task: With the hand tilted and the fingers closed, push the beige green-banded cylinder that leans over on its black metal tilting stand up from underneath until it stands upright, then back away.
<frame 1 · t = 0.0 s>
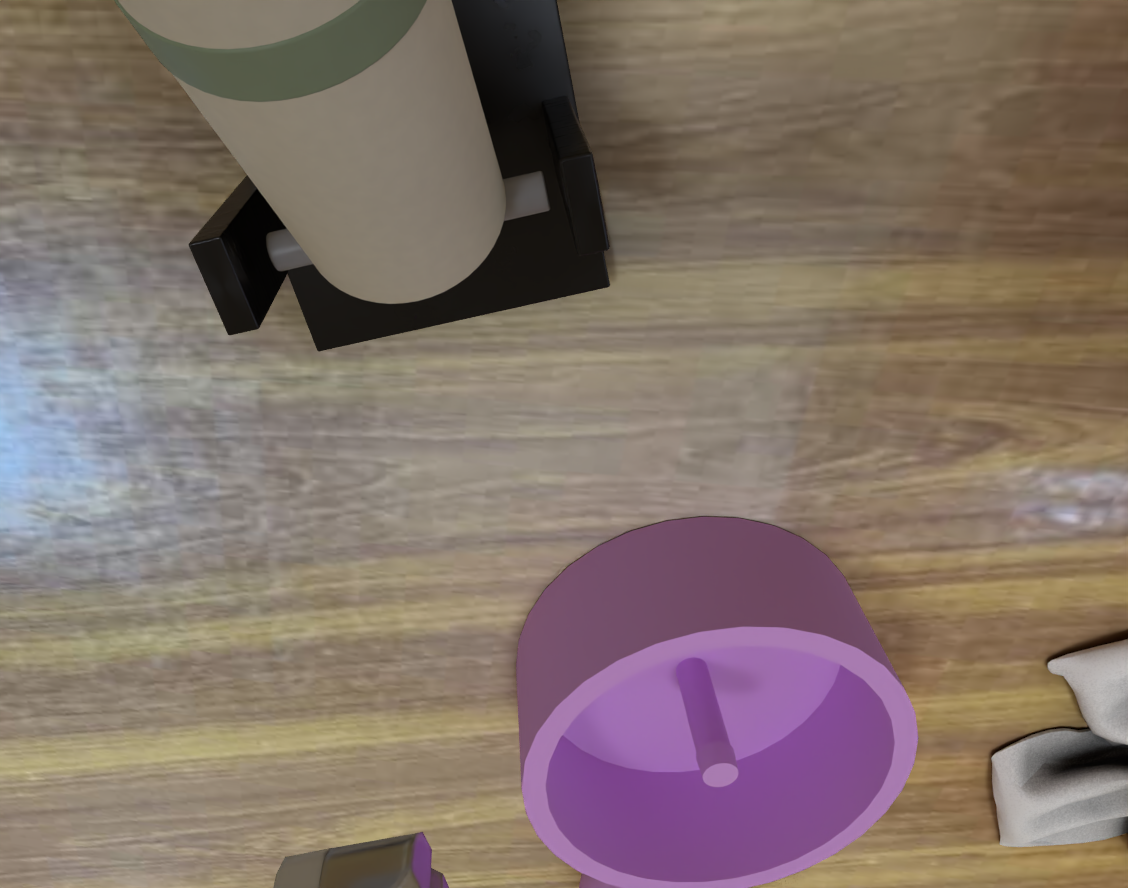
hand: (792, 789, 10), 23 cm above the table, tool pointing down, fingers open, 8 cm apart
beige green-banded cylinder: (335, 71, 18), point 10 cm above the table, hinge at 40.0°
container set: (670, 729, 43), on the table
roll stand: (422, 163, 28), on the table
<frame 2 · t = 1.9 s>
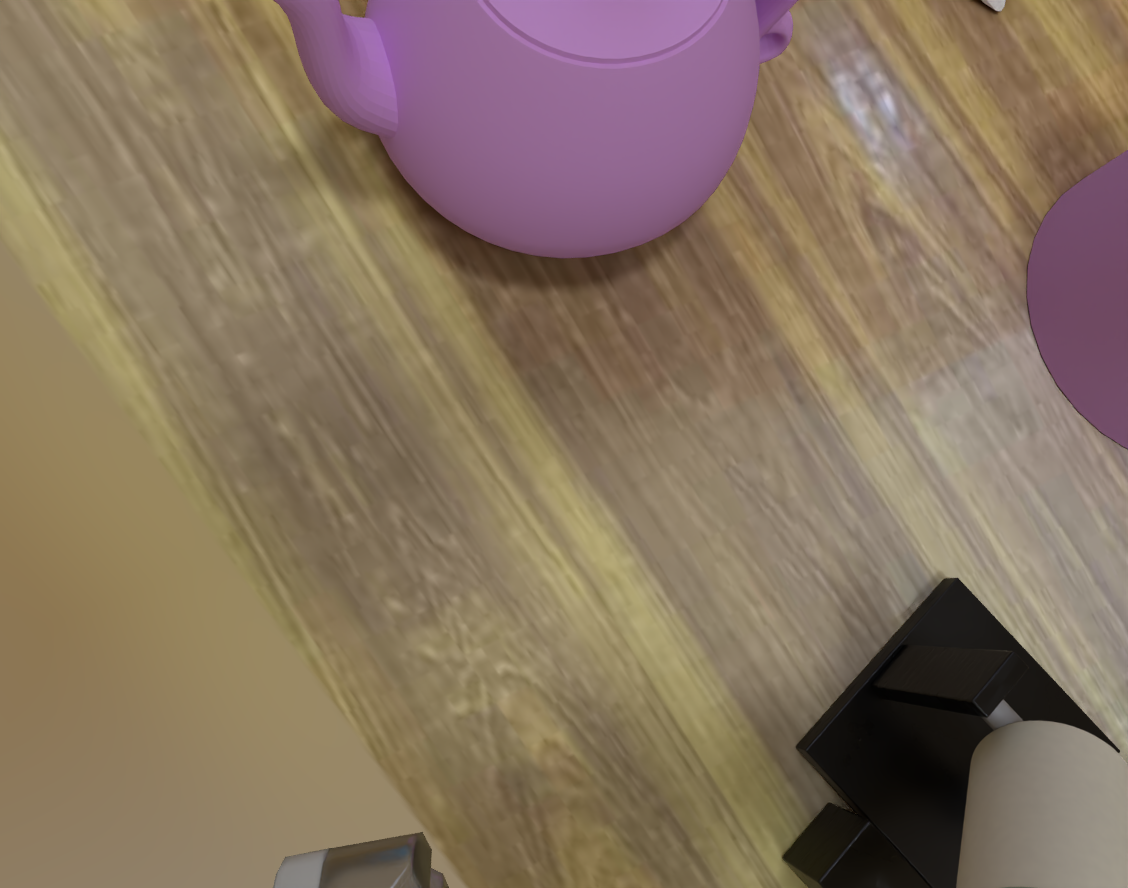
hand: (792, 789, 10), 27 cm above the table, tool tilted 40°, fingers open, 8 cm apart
roll stand: (953, 747, 38), on the table
teapot: (524, 132, 40), on the table
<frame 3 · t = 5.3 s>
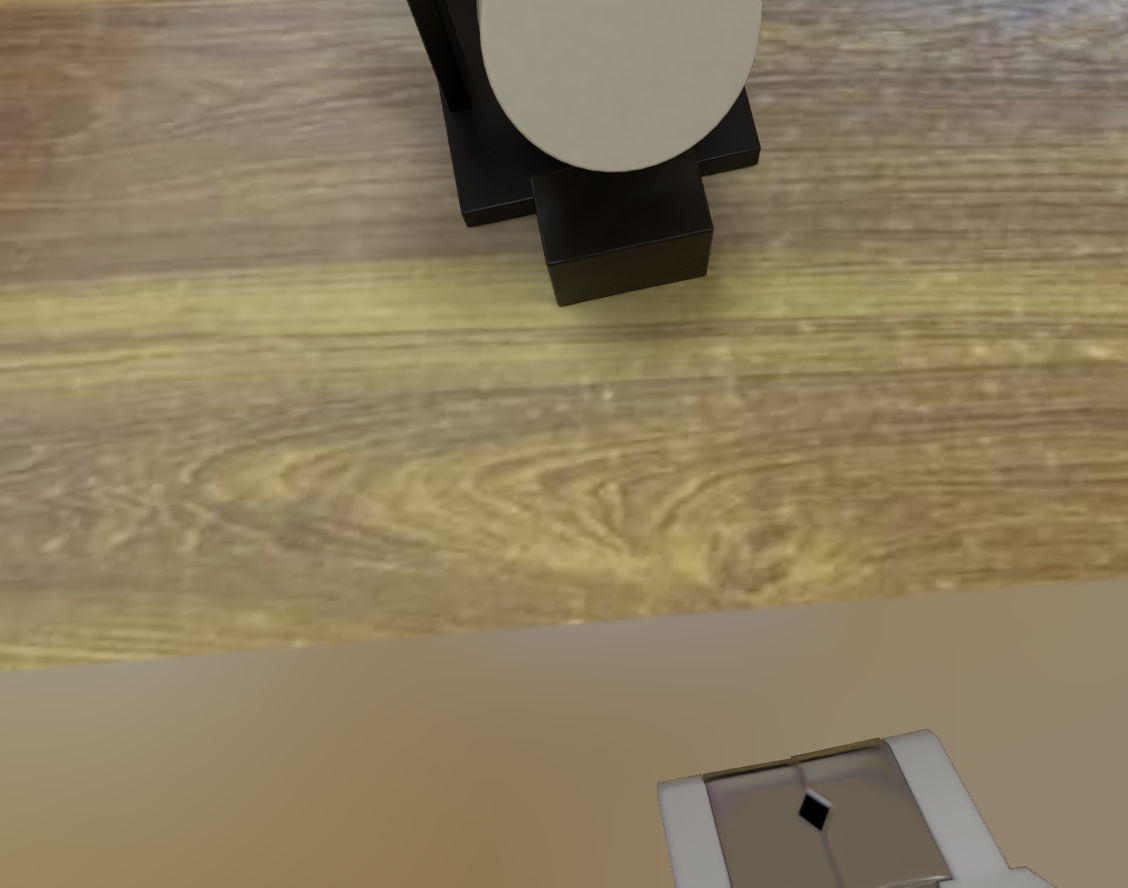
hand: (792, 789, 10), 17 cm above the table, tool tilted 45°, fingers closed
roll stand: (583, 68, 31), on the table
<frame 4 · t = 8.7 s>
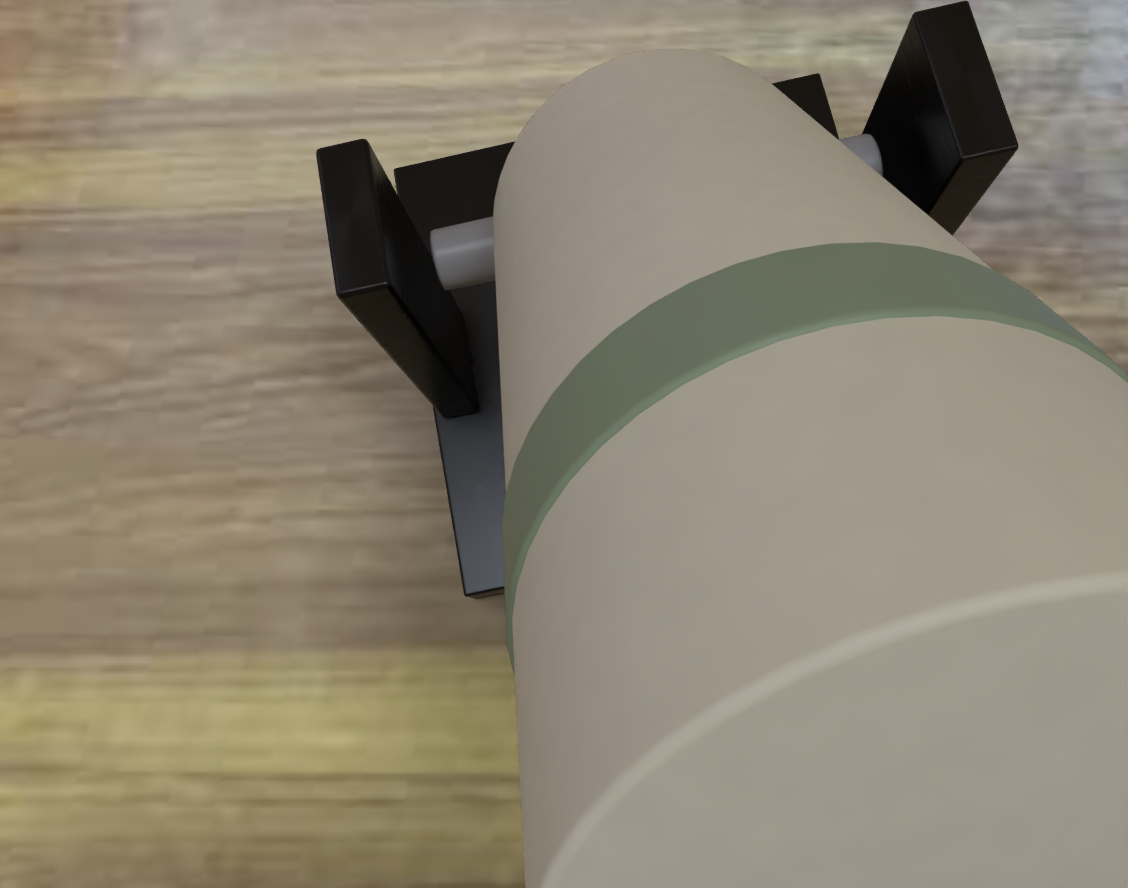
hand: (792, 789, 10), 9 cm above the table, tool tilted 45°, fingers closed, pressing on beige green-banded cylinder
beige green-banded cylinder: (733, 385, 10), point 10 cm above the table, hinge at 42.3°, touching gripper
roll stand: (650, 336, 20), on the table
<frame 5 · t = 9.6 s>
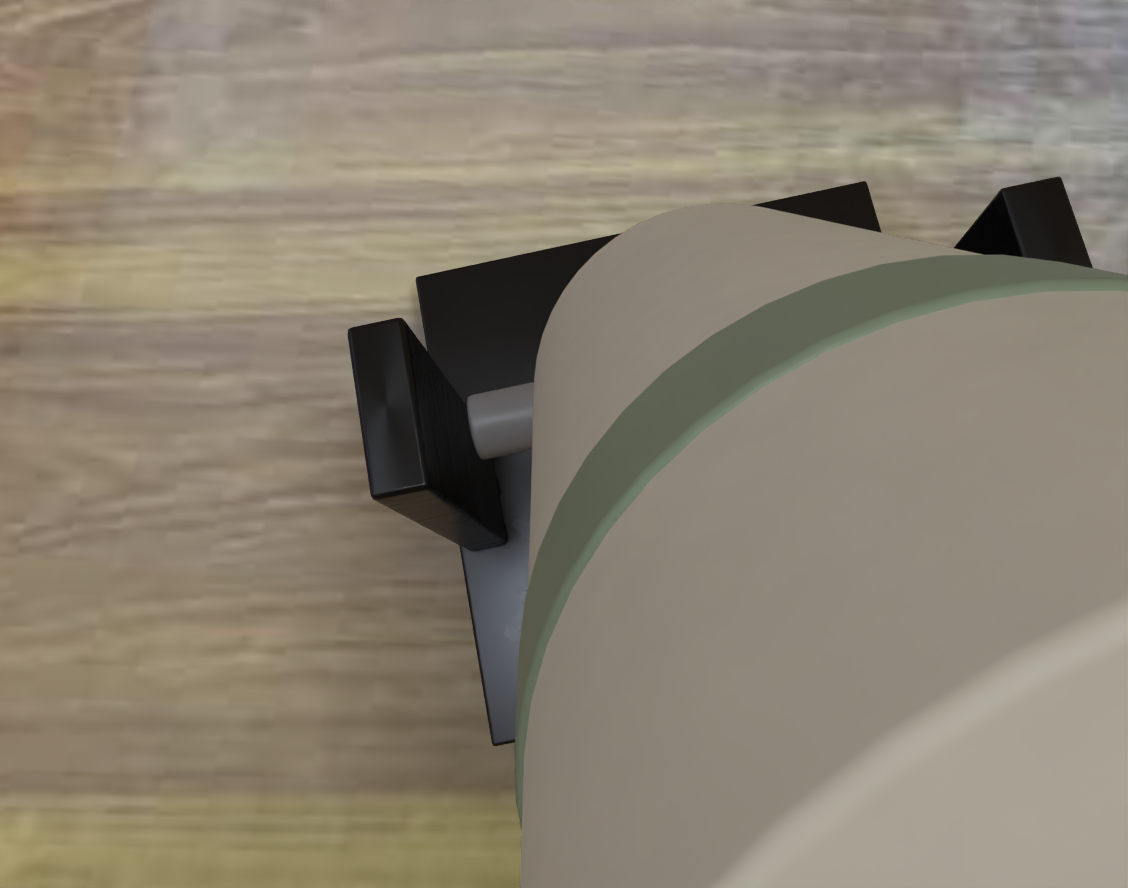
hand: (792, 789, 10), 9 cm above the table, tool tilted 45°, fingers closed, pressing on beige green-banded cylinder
beige green-banded cylinder: (812, 519, 8), point 11 cm above the table, hinge at 59.6°, touching gripper
roll stand: (686, 458, 19), on the table
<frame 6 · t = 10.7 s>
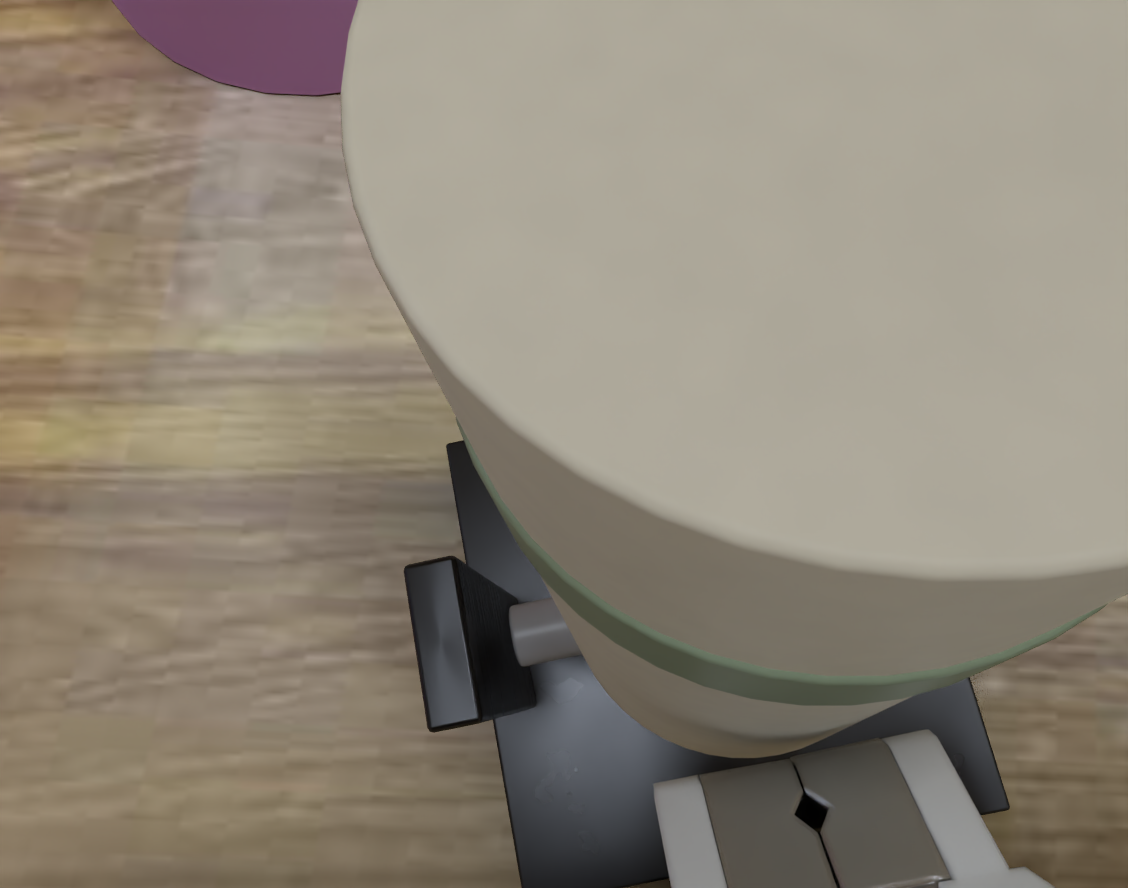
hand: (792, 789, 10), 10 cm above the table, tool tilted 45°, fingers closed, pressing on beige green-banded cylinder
beige green-banded cylinder: (763, 474, 10), point 11 cm above the table, hinge at 97.8°, touching gripper
roll stand: (704, 616, 20), on the table
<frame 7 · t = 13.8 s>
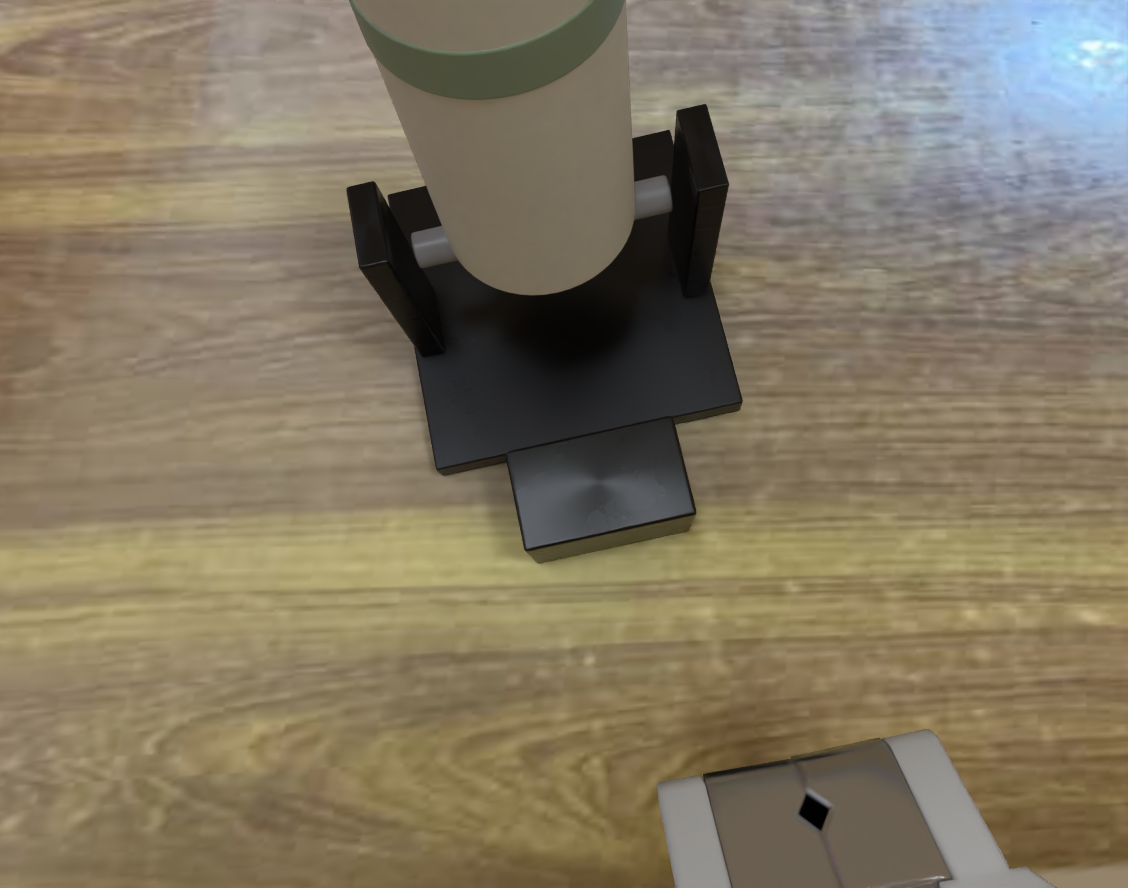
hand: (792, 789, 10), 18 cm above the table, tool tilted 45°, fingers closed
beige green-banded cylinder: (510, 79, 20), point 11 cm above the table, hinge at 96.7°
roll stand: (559, 304, 31), on the table
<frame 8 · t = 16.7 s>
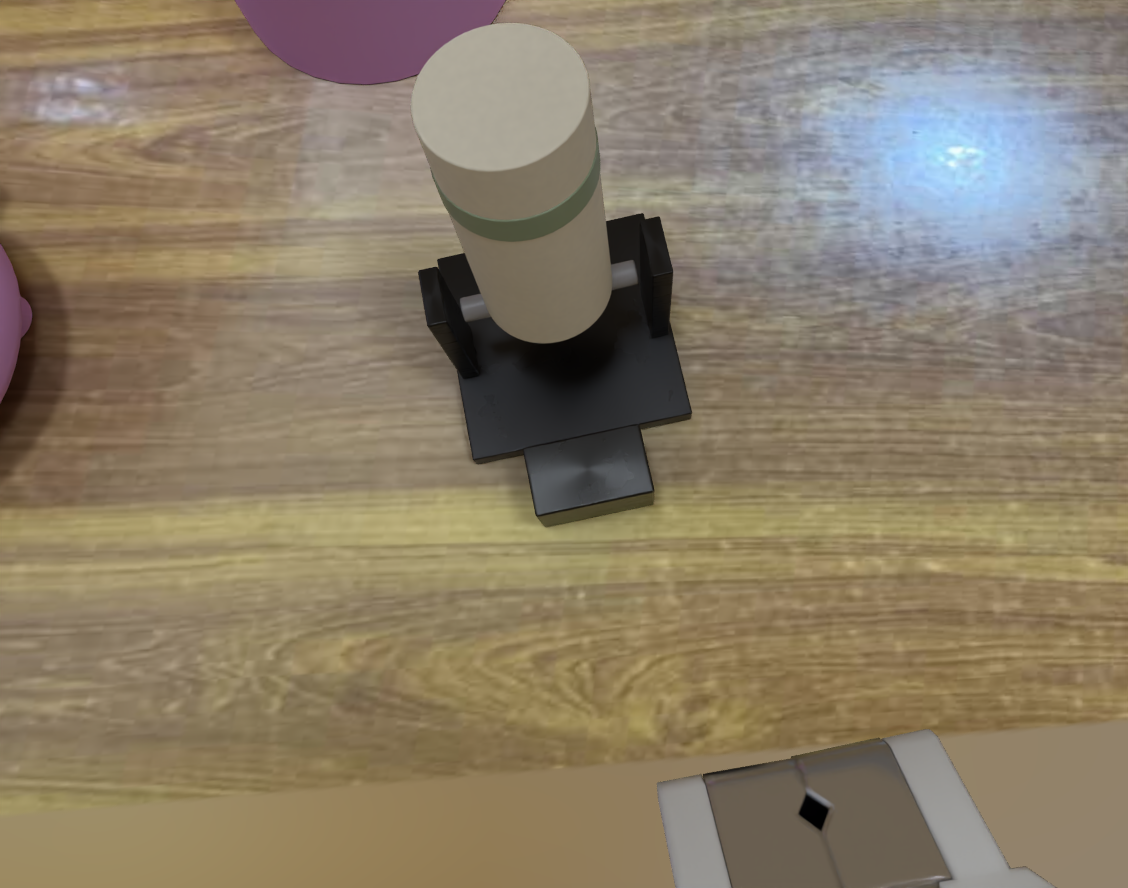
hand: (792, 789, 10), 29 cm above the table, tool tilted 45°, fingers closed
beige green-banded cylinder: (529, 213, 31), point 11 cm above the table, hinge at 96.7°
roll stand: (562, 340, 42), on the table
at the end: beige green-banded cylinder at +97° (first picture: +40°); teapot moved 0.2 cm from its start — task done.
